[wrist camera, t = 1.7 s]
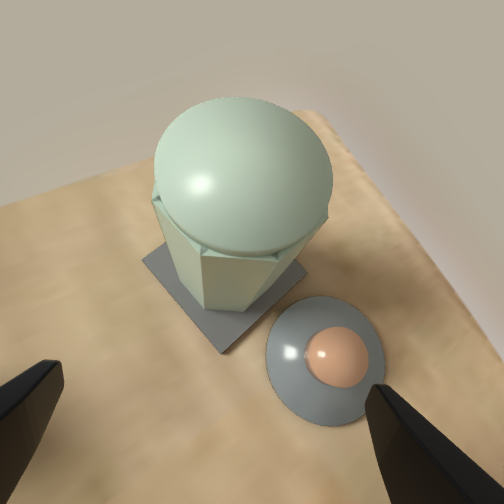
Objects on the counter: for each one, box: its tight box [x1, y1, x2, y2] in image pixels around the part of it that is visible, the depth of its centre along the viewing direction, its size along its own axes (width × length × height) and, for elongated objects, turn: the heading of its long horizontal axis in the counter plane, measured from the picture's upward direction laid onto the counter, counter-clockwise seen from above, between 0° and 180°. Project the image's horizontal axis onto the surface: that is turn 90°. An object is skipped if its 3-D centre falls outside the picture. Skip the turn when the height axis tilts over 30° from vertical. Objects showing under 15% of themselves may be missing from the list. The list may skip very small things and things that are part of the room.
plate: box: [265, 296, 385, 426], centre depth 22 cm, size 9×9×1 cm
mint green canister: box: [151, 97, 333, 312], centre depth 18 cm, size 7×7×13 cm
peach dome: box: [304, 327, 369, 388], centre depth 21 cm, size 4×4×2 cm
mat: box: [141, 242, 308, 354], centre depth 24 cm, size 9×9×1 cm
